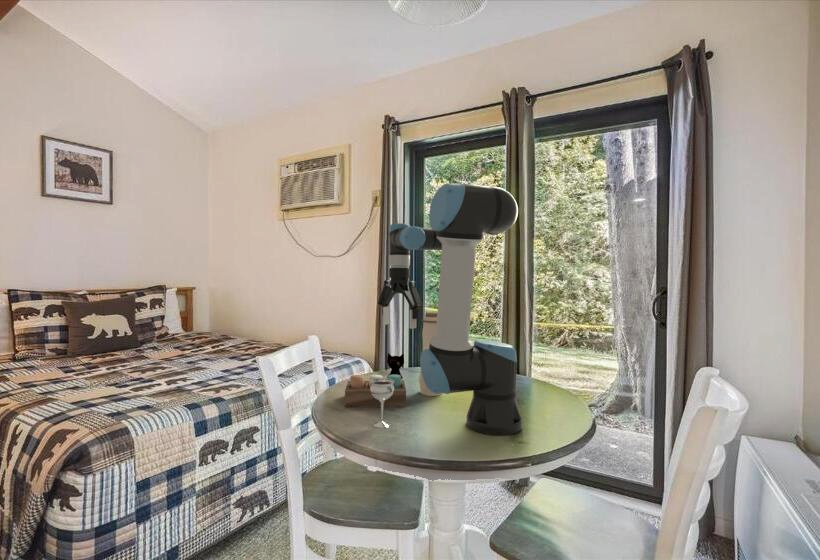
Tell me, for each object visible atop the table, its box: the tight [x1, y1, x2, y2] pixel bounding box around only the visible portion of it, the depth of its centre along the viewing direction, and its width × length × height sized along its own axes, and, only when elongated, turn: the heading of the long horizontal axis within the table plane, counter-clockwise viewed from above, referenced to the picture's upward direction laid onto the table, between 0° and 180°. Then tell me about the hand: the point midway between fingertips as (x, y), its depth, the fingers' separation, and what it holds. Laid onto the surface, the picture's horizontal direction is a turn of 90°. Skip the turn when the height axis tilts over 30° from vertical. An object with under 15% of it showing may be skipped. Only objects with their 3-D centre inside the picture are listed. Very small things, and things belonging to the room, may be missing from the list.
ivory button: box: [368, 374, 384, 388], centre depth 139 cm, size 4×4×5 cm
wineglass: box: [370, 377, 394, 429], centre depth 118 cm, size 7×7×12 cm
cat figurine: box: [386, 352, 405, 380], centre depth 157 cm, size 7×7×12 cm
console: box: [344, 379, 407, 408], centre depth 139 cm, size 12×19×5 cm, turn 94°
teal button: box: [387, 374, 402, 388], centre depth 139 cm, size 4×4×5 cm
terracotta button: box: [350, 374, 365, 388], centre depth 138 cm, size 4×4×5 cm
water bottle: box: [418, 311, 442, 397], centre depth 148 cm, size 10×9×28 cm
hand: (399, 326), depth 153 cm, fingers open, 13 cm apart
